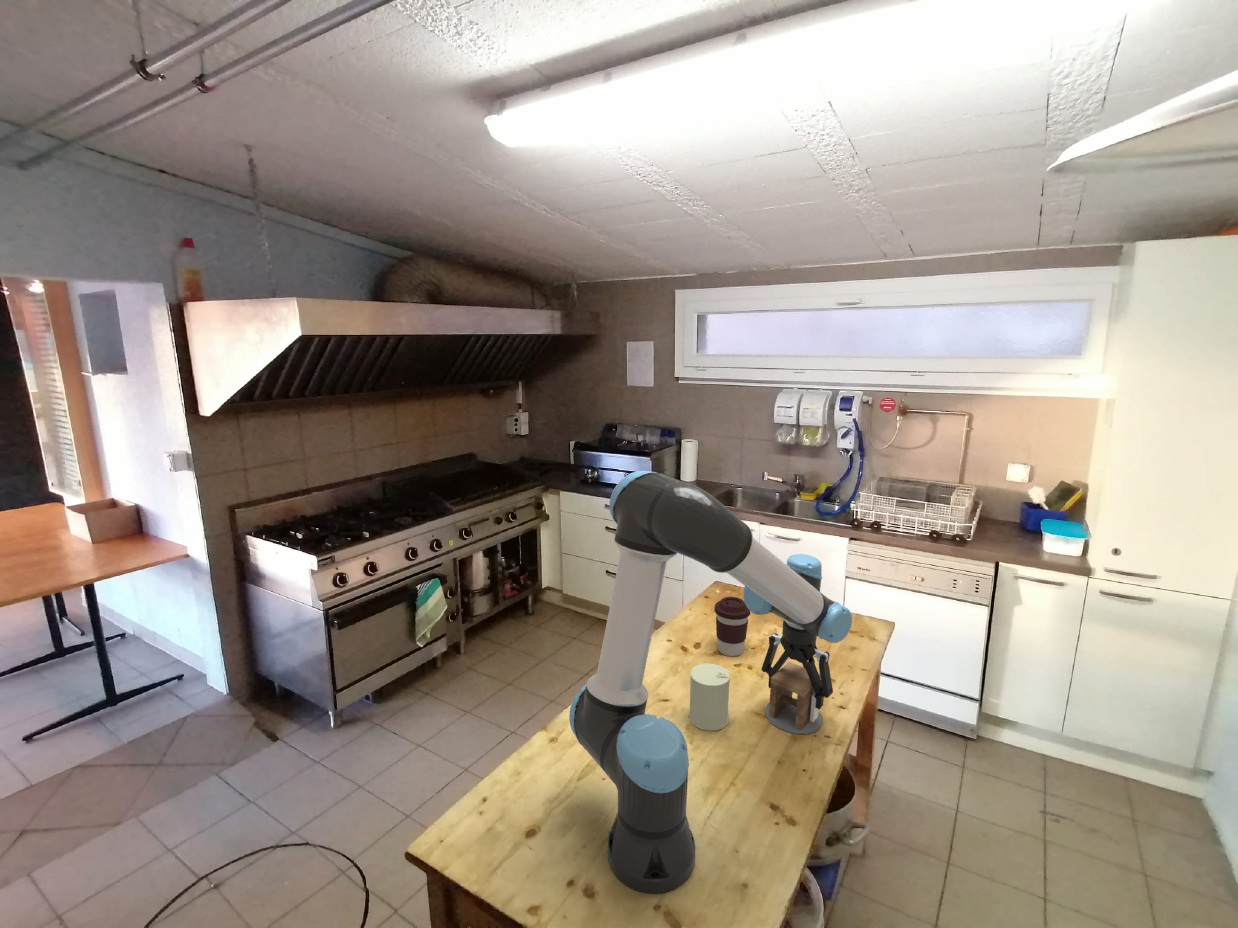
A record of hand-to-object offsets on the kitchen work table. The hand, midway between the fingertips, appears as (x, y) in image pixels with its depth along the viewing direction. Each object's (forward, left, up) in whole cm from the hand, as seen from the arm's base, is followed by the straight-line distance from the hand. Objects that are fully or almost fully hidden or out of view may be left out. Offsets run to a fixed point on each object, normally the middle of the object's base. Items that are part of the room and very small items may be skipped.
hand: (793, 709), depth 139 cm
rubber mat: (0, 0, -2) cm, 2 cm away
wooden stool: (0, 0, -1) cm, 1 cm away
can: (-14, +14, -2) cm, 20 cm away
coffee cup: (+16, +27, -2) cm, 31 cm away
